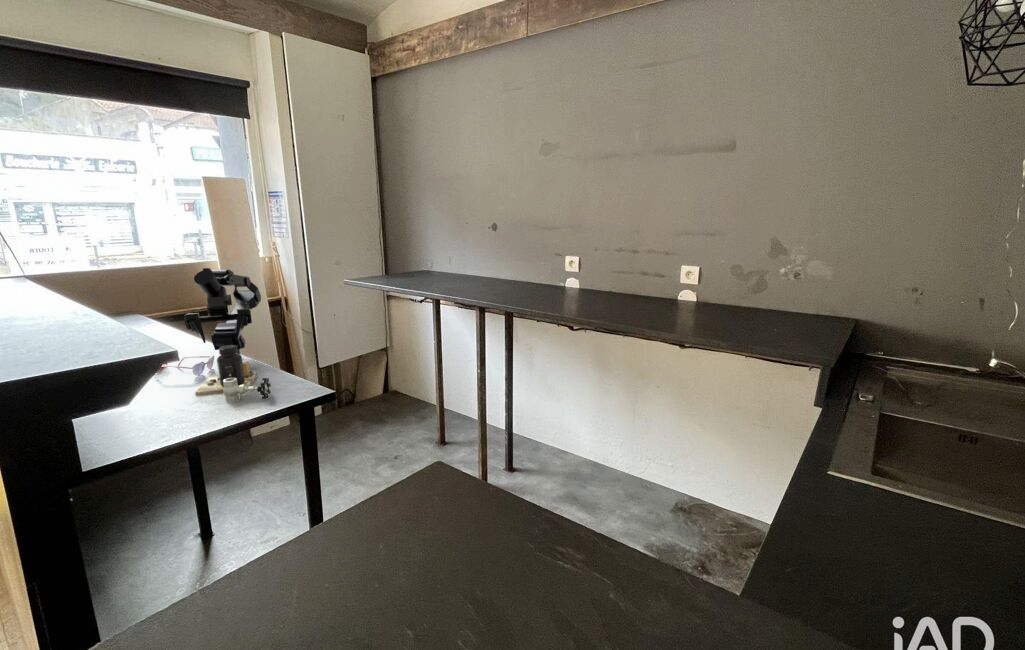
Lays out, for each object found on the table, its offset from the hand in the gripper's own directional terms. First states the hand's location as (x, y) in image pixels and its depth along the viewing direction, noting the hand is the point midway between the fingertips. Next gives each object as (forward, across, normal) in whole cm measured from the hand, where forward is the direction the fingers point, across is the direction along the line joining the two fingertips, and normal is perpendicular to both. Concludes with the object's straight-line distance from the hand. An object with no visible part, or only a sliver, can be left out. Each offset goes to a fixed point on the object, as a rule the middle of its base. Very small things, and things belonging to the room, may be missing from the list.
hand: (221, 340), depth 156 cm
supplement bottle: (+15, +2, +2) cm, 15 cm away
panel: (+13, 0, +6) cm, 15 cm away
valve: (+25, +5, -5) cm, 26 cm away
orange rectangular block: (+9, +5, +8) cm, 13 cm away
